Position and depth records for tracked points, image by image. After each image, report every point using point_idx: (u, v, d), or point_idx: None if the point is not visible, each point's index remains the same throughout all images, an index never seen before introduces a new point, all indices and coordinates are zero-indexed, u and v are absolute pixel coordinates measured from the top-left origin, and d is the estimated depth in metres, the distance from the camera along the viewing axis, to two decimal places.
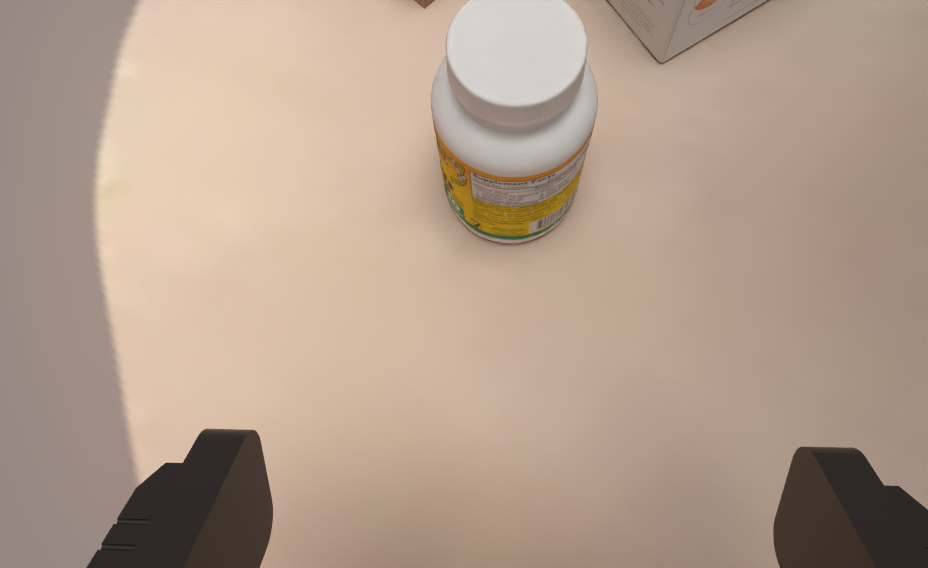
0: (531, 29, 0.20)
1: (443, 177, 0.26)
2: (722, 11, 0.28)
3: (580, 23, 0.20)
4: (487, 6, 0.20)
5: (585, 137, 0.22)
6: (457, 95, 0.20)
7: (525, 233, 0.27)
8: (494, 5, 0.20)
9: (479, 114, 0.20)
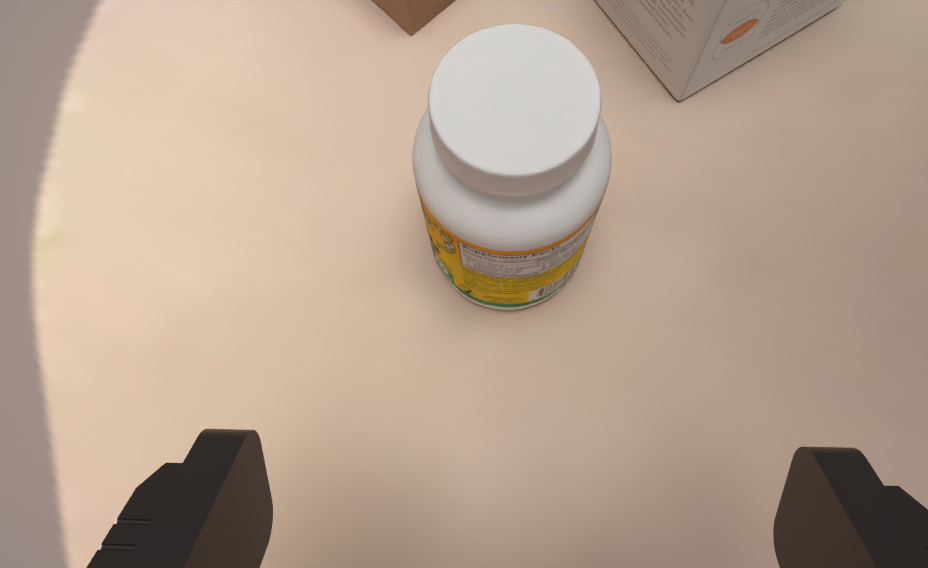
0: (532, 79, 0.16)
1: None
2: (750, 44, 0.25)
3: (592, 72, 0.16)
4: (479, 49, 0.16)
5: (596, 204, 0.18)
6: (442, 158, 0.17)
7: (524, 301, 0.23)
8: (487, 49, 0.16)
9: (468, 181, 0.16)
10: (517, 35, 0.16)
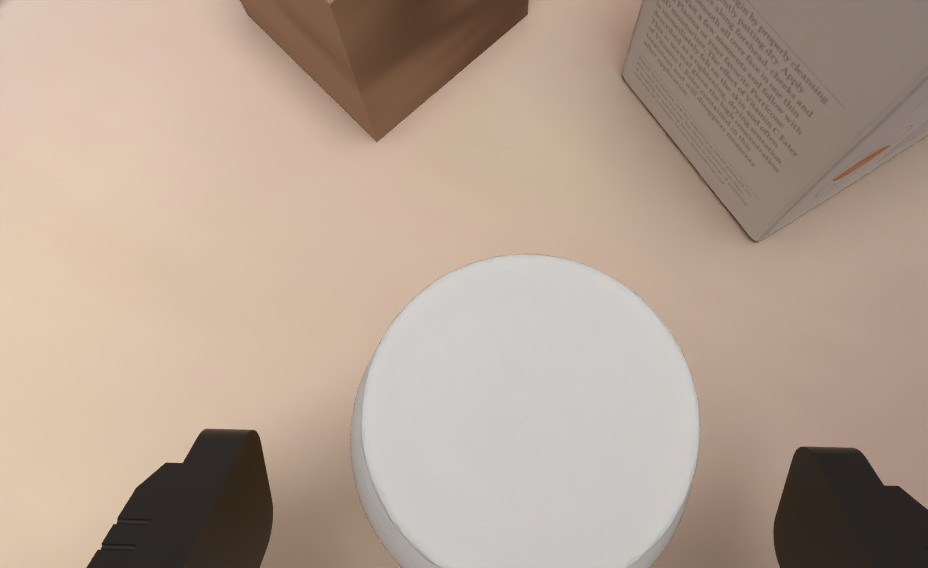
0: (564, 376, 0.08)
1: None
2: (865, 169, 0.17)
3: (681, 362, 0.08)
4: (461, 311, 0.08)
5: (671, 536, 0.10)
6: None
7: None
8: (477, 310, 0.08)
9: None
10: (533, 280, 0.09)
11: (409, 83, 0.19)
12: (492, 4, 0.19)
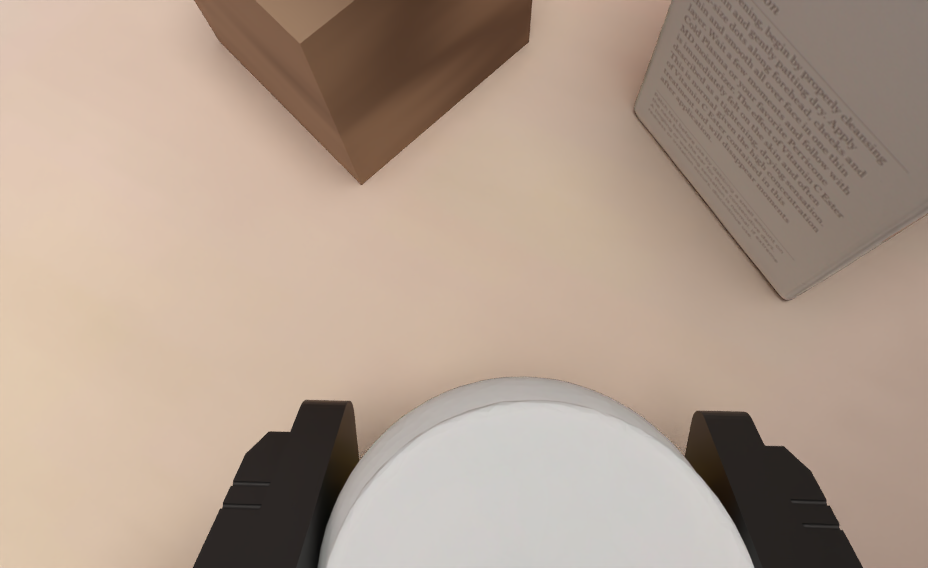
0: None
1: None
2: None
3: (743, 555, 0.06)
4: (450, 481, 0.06)
5: None
6: None
7: None
8: (470, 482, 0.06)
9: None
10: (545, 439, 0.06)
11: (397, 122, 0.17)
12: (490, 32, 0.17)
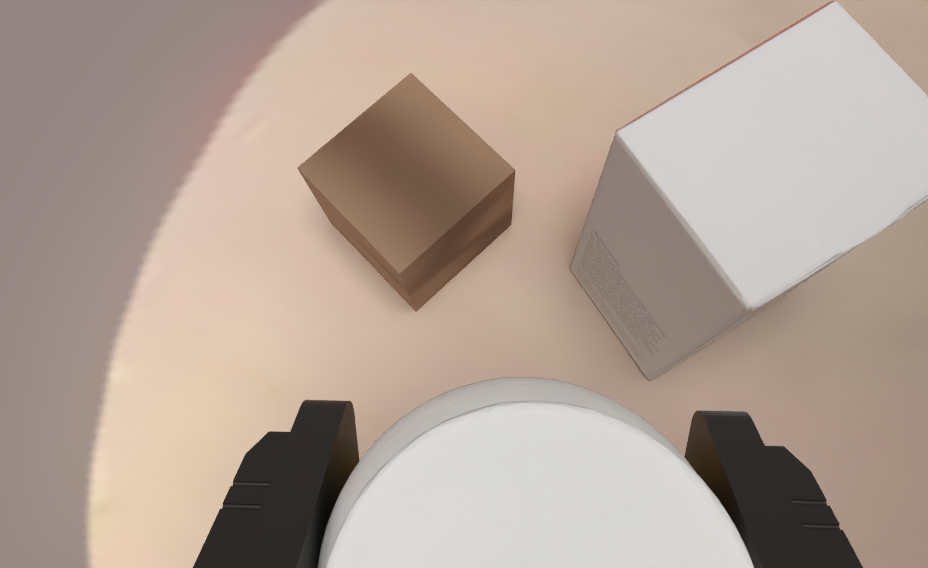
0: None
1: None
2: (709, 343, 0.29)
3: (743, 556, 0.06)
4: (450, 482, 0.06)
5: None
6: None
7: None
8: (471, 482, 0.06)
9: None
10: (546, 440, 0.06)
11: (437, 281, 0.30)
12: (488, 232, 0.31)
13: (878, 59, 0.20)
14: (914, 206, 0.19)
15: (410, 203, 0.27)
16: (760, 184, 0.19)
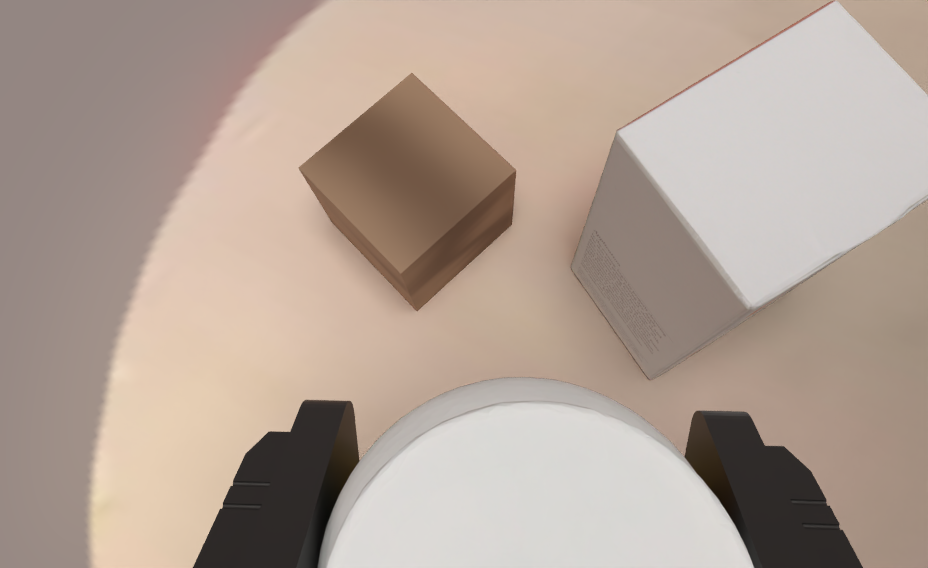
0: None
1: None
2: None
3: (743, 556, 0.06)
4: (450, 483, 0.06)
5: None
6: None
7: None
8: (470, 483, 0.06)
9: None
10: (545, 440, 0.06)
11: (438, 281, 0.30)
12: (489, 231, 0.31)
13: (878, 59, 0.20)
14: (914, 205, 0.19)
15: (411, 203, 0.27)
16: (761, 183, 0.19)
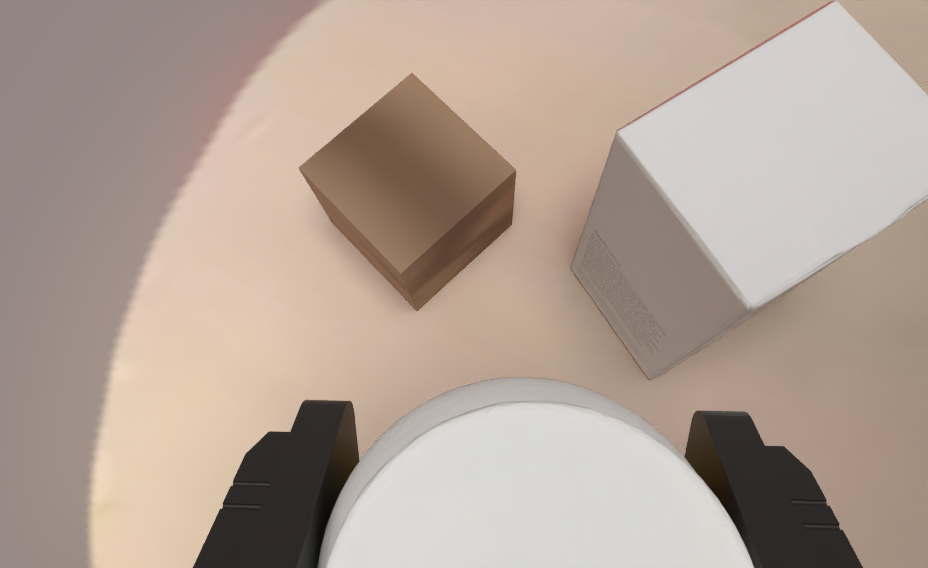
0: None
1: None
2: None
3: (743, 556, 0.06)
4: (450, 483, 0.06)
5: None
6: None
7: None
8: (470, 483, 0.06)
9: None
10: (545, 440, 0.06)
11: (438, 281, 0.30)
12: (489, 231, 0.31)
13: (878, 59, 0.20)
14: (914, 206, 0.19)
15: (411, 203, 0.27)
16: (761, 183, 0.19)
